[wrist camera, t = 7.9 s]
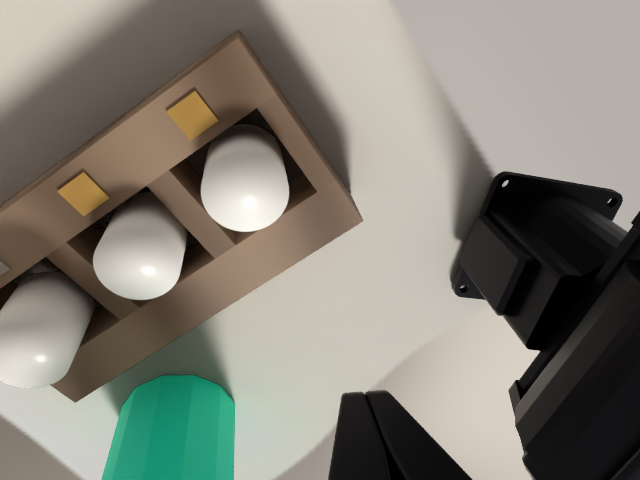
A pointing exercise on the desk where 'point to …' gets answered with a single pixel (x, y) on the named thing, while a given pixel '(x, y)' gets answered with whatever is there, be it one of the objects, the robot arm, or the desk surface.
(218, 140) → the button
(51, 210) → the button board
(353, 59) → the desk surface
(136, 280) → the button middle
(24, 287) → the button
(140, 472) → the candle
